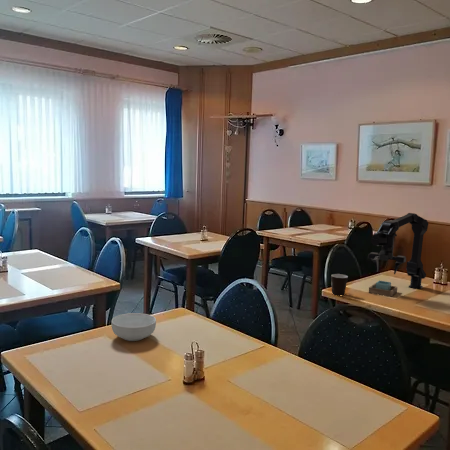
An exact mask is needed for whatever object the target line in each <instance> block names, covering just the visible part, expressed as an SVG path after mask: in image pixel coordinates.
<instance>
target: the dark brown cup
mask: <svg viewBox="0 0 450 450" xmlns="http://www.w3.org/2000/svg"><path fill="white" fill-rule="evenodd" d="M348 277H349V276H348V275H346V274H340V273H333V274H331V276H330V280H331V283H330V284H331V294H332V293H333V294H334V295H333V294H332V295H333V296H335V295H337V296H336V297H341V296H340V295H344V294H345V293H346V290H347V289H346V288H347V285H348ZM338 295H339V296H338ZM345 295H346V294H345ZM345 295H344V296H345Z"/></svg>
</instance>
